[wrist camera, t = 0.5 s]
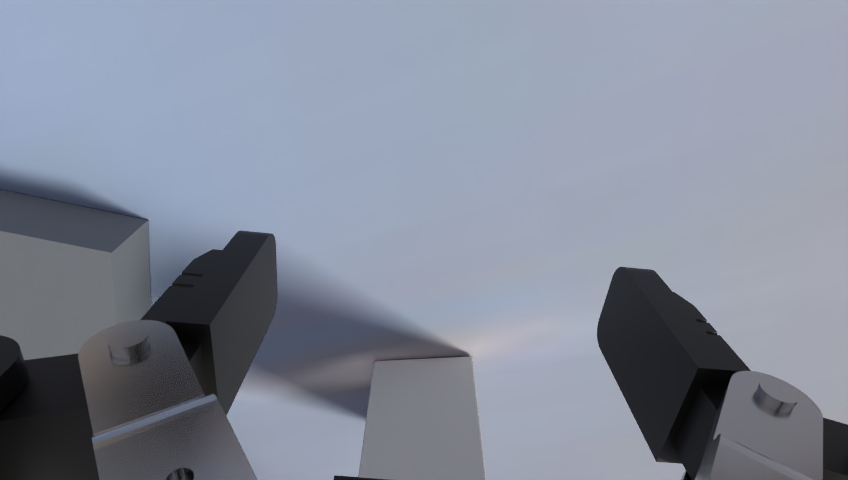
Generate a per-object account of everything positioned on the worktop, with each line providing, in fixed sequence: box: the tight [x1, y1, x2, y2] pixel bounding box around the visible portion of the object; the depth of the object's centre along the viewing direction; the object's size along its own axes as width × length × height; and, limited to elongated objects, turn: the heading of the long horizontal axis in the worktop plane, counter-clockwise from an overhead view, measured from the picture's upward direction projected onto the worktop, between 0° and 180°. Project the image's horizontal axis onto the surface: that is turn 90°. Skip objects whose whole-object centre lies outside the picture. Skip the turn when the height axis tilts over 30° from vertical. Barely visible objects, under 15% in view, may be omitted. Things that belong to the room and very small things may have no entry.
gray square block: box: [0, 189, 151, 360], centre depth 31 cm, size 14×14×4 cm
